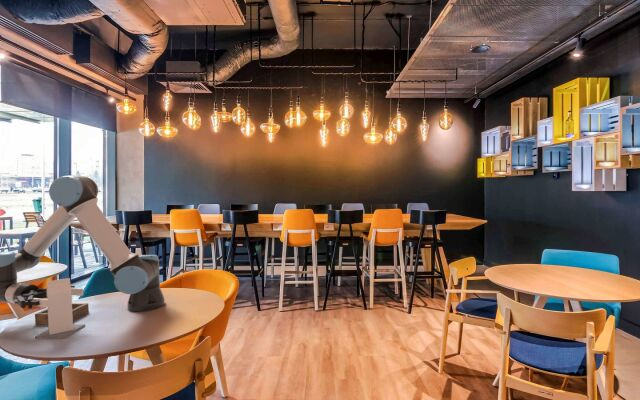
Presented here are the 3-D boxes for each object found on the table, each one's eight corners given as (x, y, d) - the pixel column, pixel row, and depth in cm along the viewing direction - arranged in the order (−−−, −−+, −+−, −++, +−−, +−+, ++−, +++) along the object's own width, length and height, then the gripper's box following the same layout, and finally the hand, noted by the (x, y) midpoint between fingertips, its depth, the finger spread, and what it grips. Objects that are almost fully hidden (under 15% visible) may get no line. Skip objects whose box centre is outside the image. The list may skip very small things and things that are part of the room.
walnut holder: (88, 312, 160) (88, 303, 160) (67, 323, 147) (67, 313, 147) (59, 312, 160) (58, 303, 160) (35, 324, 147) (34, 314, 147)
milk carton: (73, 330, 138) (70, 279, 137) (49, 335, 133) (46, 283, 132) (71, 324, 143) (68, 276, 142) (48, 329, 139) (46, 279, 138)
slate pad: (85, 326, 144) (84, 324, 144) (65, 338, 133) (64, 335, 133) (57, 326, 144) (57, 324, 144) (34, 338, 133) (34, 336, 133)
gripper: (55, 294, 155) (95, 297, 149) (-13, 314, 131) (31, 319, 125) (54, 276, 154) (94, 278, 149) (-15, 293, 131) (30, 297, 125)
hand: (65, 297), depth 137 cm, fingers open, 13 cm apart
